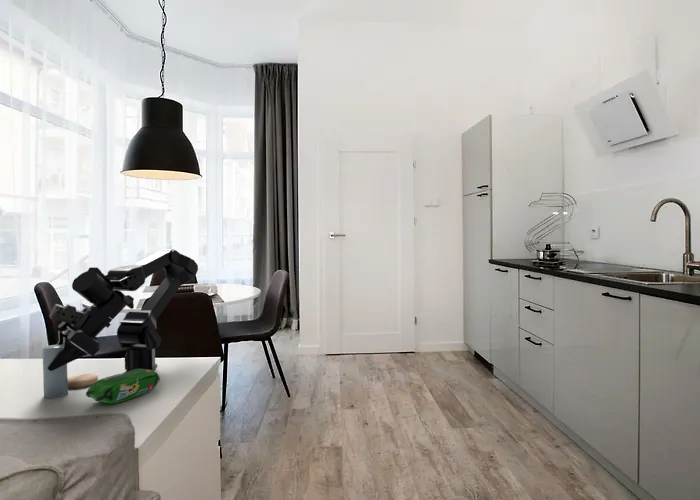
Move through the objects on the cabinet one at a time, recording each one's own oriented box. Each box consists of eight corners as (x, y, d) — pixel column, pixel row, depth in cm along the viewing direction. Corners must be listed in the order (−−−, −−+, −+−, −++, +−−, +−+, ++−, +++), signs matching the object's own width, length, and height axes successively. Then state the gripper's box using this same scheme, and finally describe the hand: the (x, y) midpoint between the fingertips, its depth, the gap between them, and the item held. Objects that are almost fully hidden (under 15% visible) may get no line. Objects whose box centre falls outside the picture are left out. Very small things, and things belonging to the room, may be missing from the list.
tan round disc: (102, 377, 108) (102, 373, 108) (91, 387, 101) (91, 382, 101) (72, 379, 107) (71, 374, 107) (58, 389, 100) (58, 384, 100)
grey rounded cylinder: (71, 390, 99) (70, 343, 99) (62, 397, 95) (61, 348, 94) (49, 391, 98) (48, 344, 98) (39, 399, 94) (38, 350, 94)
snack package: (79, 407, 90) (78, 382, 90) (146, 383, 104) (145, 362, 104) (99, 414, 87) (98, 389, 87) (165, 389, 100) (165, 367, 100)
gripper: (67, 287, 105) (12, 338, 98) (80, 295, 91) (17, 355, 84) (104, 314, 111) (54, 365, 104) (122, 326, 97) (65, 385, 90)
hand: (47, 367), depth 95 cm, fingers closed on grey rounded cylinder, 4 cm apart
